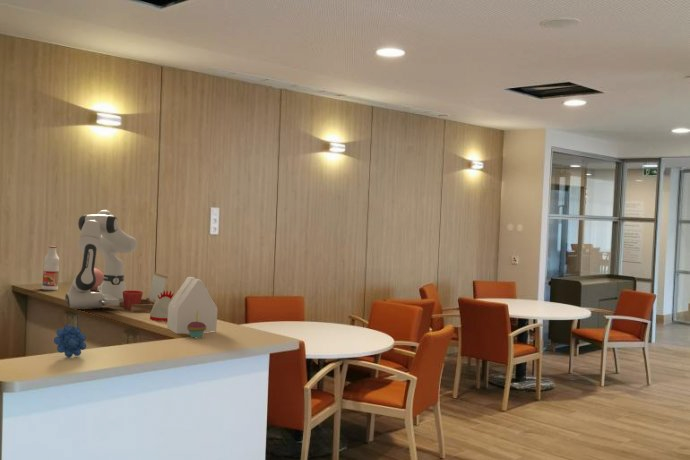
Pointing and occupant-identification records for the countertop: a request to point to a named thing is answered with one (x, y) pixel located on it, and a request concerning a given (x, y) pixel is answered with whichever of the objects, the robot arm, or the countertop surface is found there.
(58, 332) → the blue flower
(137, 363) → the countertop surface
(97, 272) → the pink egg shape
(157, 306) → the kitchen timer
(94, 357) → the countertop surface
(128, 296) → the flower pot
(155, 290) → the frame lid
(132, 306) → the cold frame
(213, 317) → the white house-shaped block
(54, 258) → the fruit juice
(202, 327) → the cupcake
